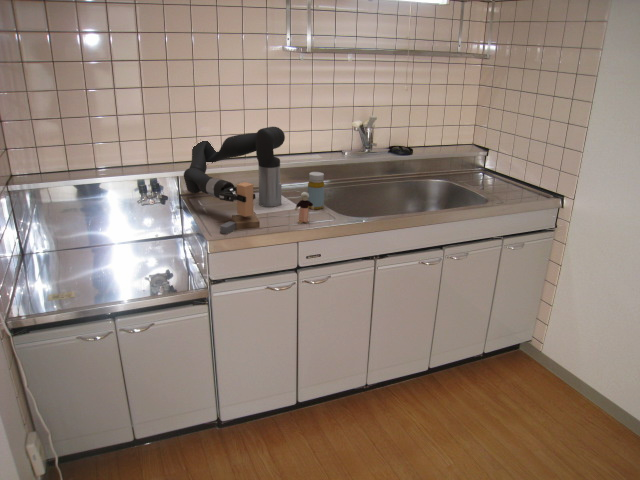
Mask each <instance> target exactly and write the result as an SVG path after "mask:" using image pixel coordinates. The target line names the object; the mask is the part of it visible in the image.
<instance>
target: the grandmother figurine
mask: <svg viewBox="0 0 640 480" xmlns="http://www.w3.org/2000/svg"><path fill="white" fill-rule="evenodd" d="M300 198H301V200H299V202H298V203H297V204H296V205H295V208H294V211H298V209H299V211H298V221H297V224H300V225H301V224H303V223H304V224H309V214H310V213H309V209H310V208H309V207H308V206H311V208H312V209H311V210H315V209H314V207H313V204H312V203H311V202H310V201H308V198H309V194H308V192H306V191H303V192H302V193H301V194H300Z"/></svg>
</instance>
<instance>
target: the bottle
mask: <svg viewBox="0 0 640 480" xmlns="http://www.w3.org/2000/svg"><path fill="white" fill-rule="evenodd" d="M308 176H309V177H308V183H307V193H308V194H309V198H308V199H307V200H308V201H310V202H311V203H312V204H313V207H314V209H312V208H311V206H308V208H309V209H311V210H314V211H315V210H322V209H323V208H324V204H325V203H324V202H325V182H324V178H325V174H324V172H320V171H311V172H309V173H308Z"/></svg>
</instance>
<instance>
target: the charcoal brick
mask: <svg viewBox="0 0 640 480" xmlns="http://www.w3.org/2000/svg"><path fill="white" fill-rule="evenodd" d="M219 229H220V230H219V231H220V234H223V235H229V234H231V233H232V232H234V231H236V222H232V220H231V221H230V220H228V221H226V222H225V223H223V224H221V225H220V226H219Z"/></svg>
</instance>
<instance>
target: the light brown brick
mask: <svg viewBox="0 0 640 480" xmlns="http://www.w3.org/2000/svg"><path fill="white" fill-rule="evenodd" d="M236 187H237V194H238V195H242V196H245V197H246V202H241V201H236V207H237V209H236V211H237V214H236V215H242V216H244V217H246V216H249V215H252V214H255V213H254V210H255V209H254V200H253V193H254V184H253V183H250V182H247V181H244V182H241V183H237V184H236Z"/></svg>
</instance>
